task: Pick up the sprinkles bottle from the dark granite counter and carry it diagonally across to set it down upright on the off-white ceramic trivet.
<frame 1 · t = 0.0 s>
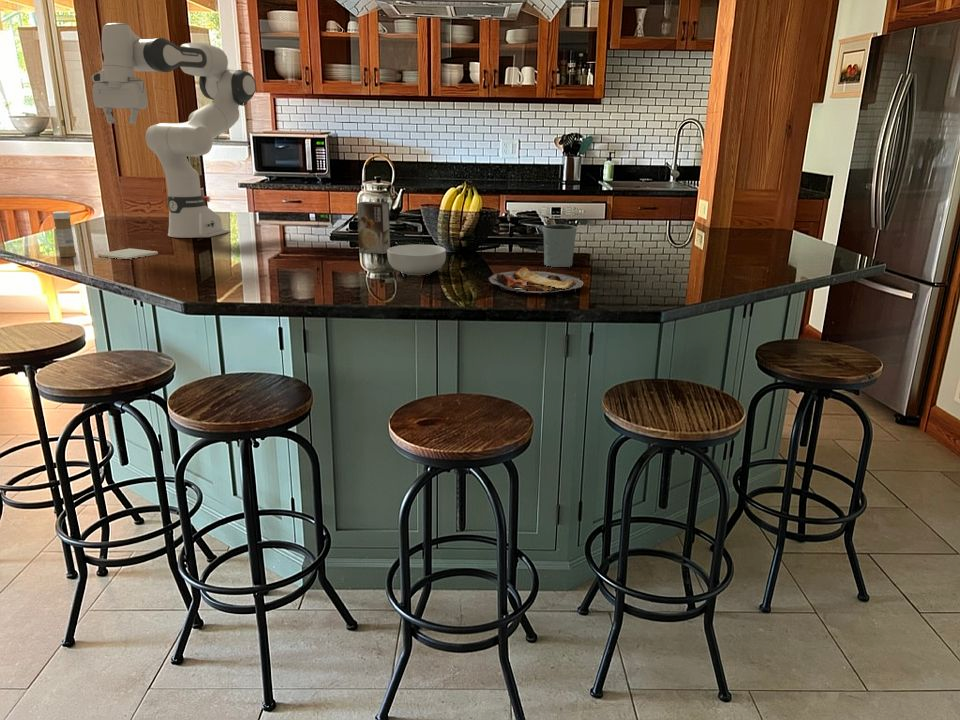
hand: (121, 123, 230), 39 cm above the table, tool pointing down, fingers open, 8 cm apart
trivet: (128, 255, 223), on the table
grey tapered cup: (557, 266, 222), on the table
coffee box: (374, 252, 238), on the table
cereal bowl: (416, 274, 207), on the table
food plate: (534, 288, 193), on the table
sprinkles bottle: (68, 256, 220), on the table
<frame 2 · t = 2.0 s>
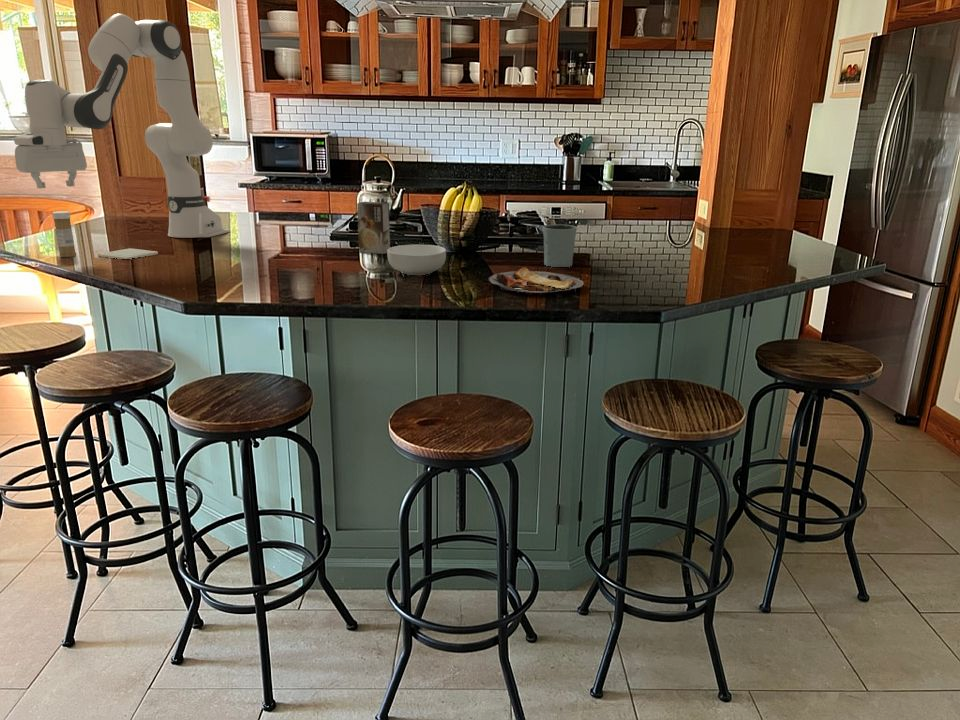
hand: (56, 187, 213), 21 cm above the table, tool pointing down, fingers open, 8 cm apart
nothing on the table moved.
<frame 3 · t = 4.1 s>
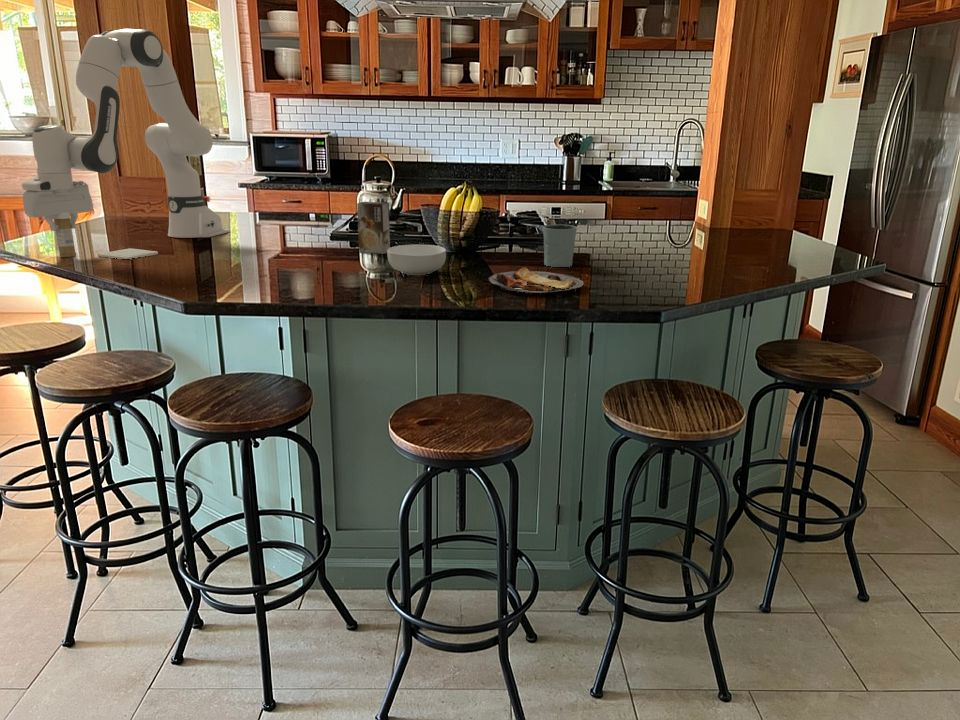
hand: (63, 229, 217), 8 cm above the table, tool pointing down, fingers closed on sprinkles bottle, 4 cm apart
sprinkles bottle: (68, 256, 220), on the table, touching gripper
everything else where it was.
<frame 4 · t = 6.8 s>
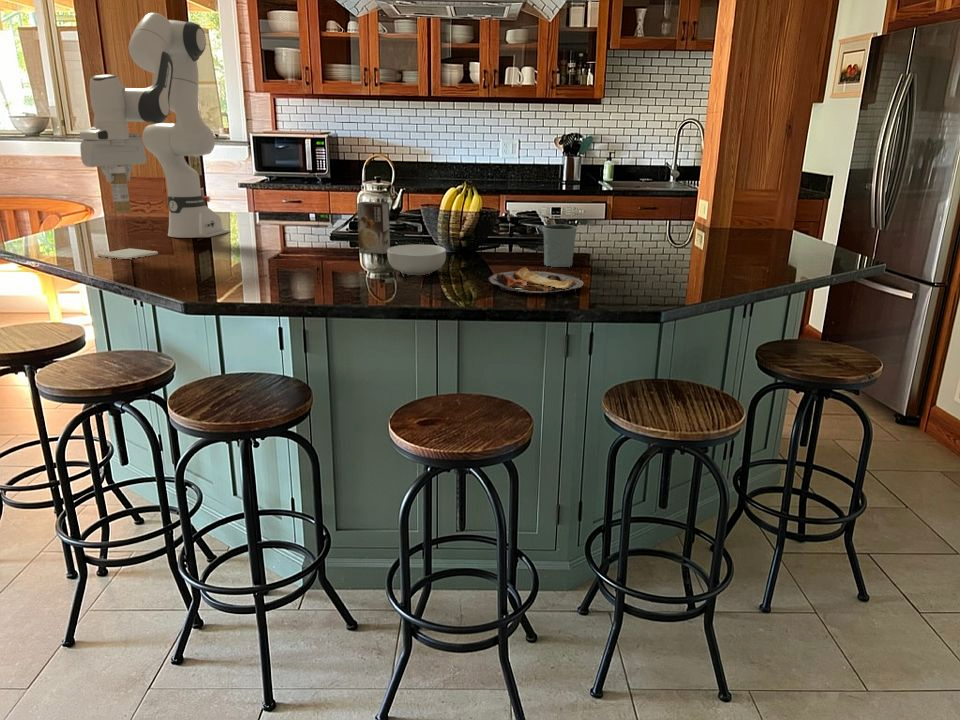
hand: (118, 181, 216), 22 cm above the table, tool pointing down, fingers closed on sprinkles bottle, 4 cm apart
sprinkles bottle: (122, 212, 219), point 13 cm above the table, touching gripper
everything else where it was.
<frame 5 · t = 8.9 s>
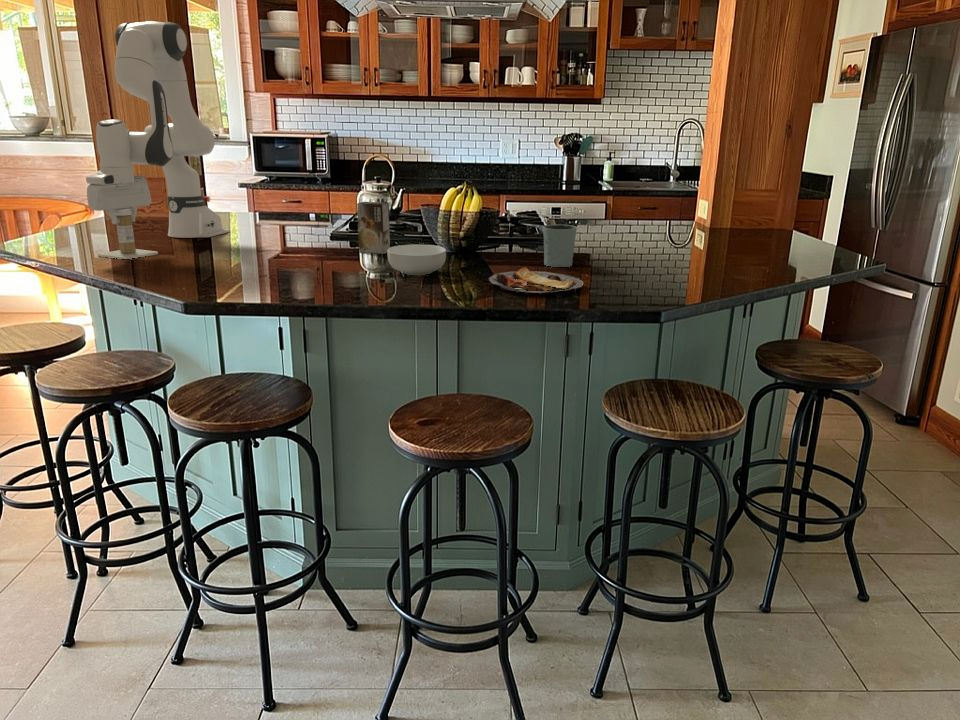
hand: (123, 223, 220), 10 cm above the table, tool pointing down, fingers closed on sprinkles bottle, 4 cm apart
sprinkles bottle: (128, 253, 223), point 1 cm above the table, touching gripper, trivet
everything else where it was.
when the fingers open (9 cm above the table, at t = 9.9 s): sprinkles bottle stays where it is, resting on trivet.
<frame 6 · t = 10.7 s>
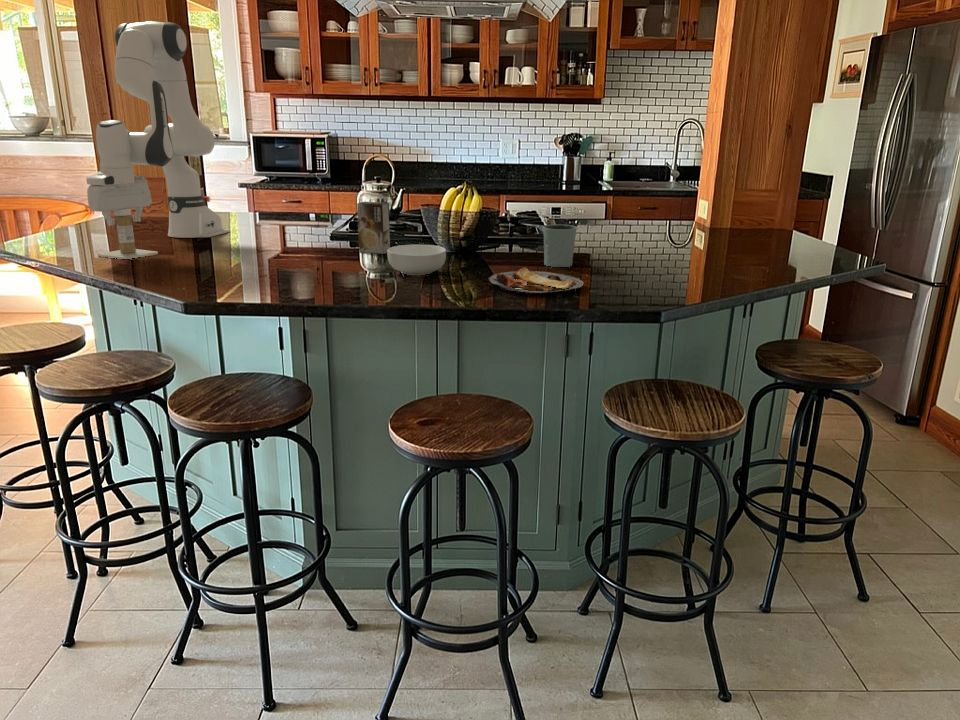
hand: (124, 223, 221), 10 cm above the table, tool pointing down, fingers open, 8 cm apart
sprinkles bottle: (128, 253, 223), point 1 cm above the table, touching trivet
everything else where it was.
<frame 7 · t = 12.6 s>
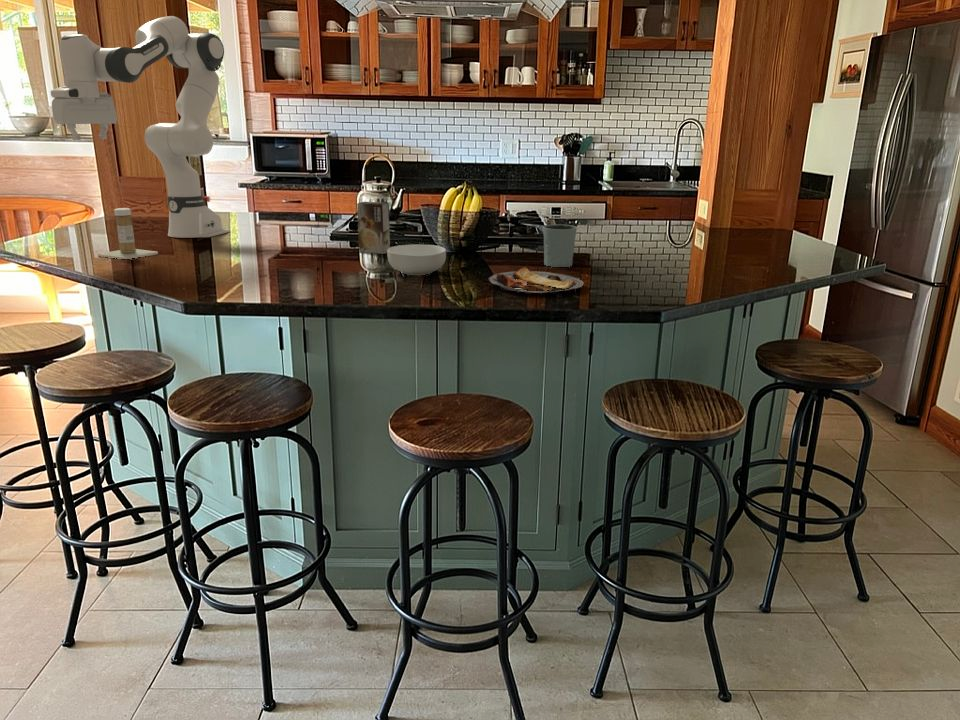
hand: (90, 139, 223), 34 cm above the table, tool pointing down, fingers open, 8 cm apart
nothing on the table moved.
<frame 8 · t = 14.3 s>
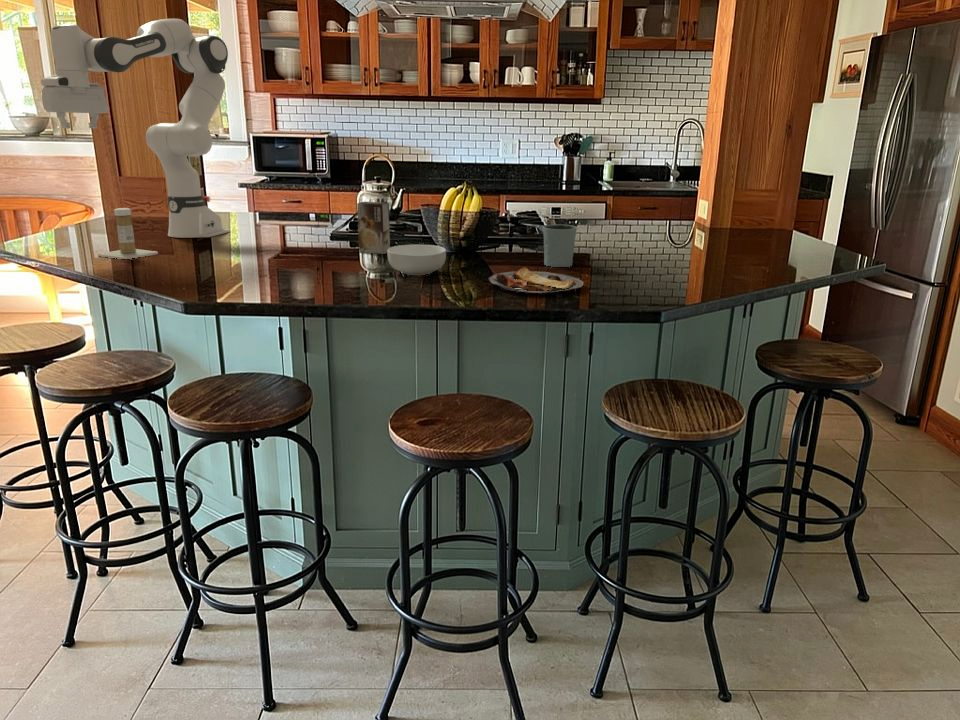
hand: (80, 128, 226), 37 cm above the table, tool pointing down, fingers open, 8 cm apart
nothing on the table moved.
at the end: sprinkles bottle inside the target area (0.1 cm from its centre), point 0.7 cm above the table; sprinkles bottle tilted 0°; the gripper is holding nothing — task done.
